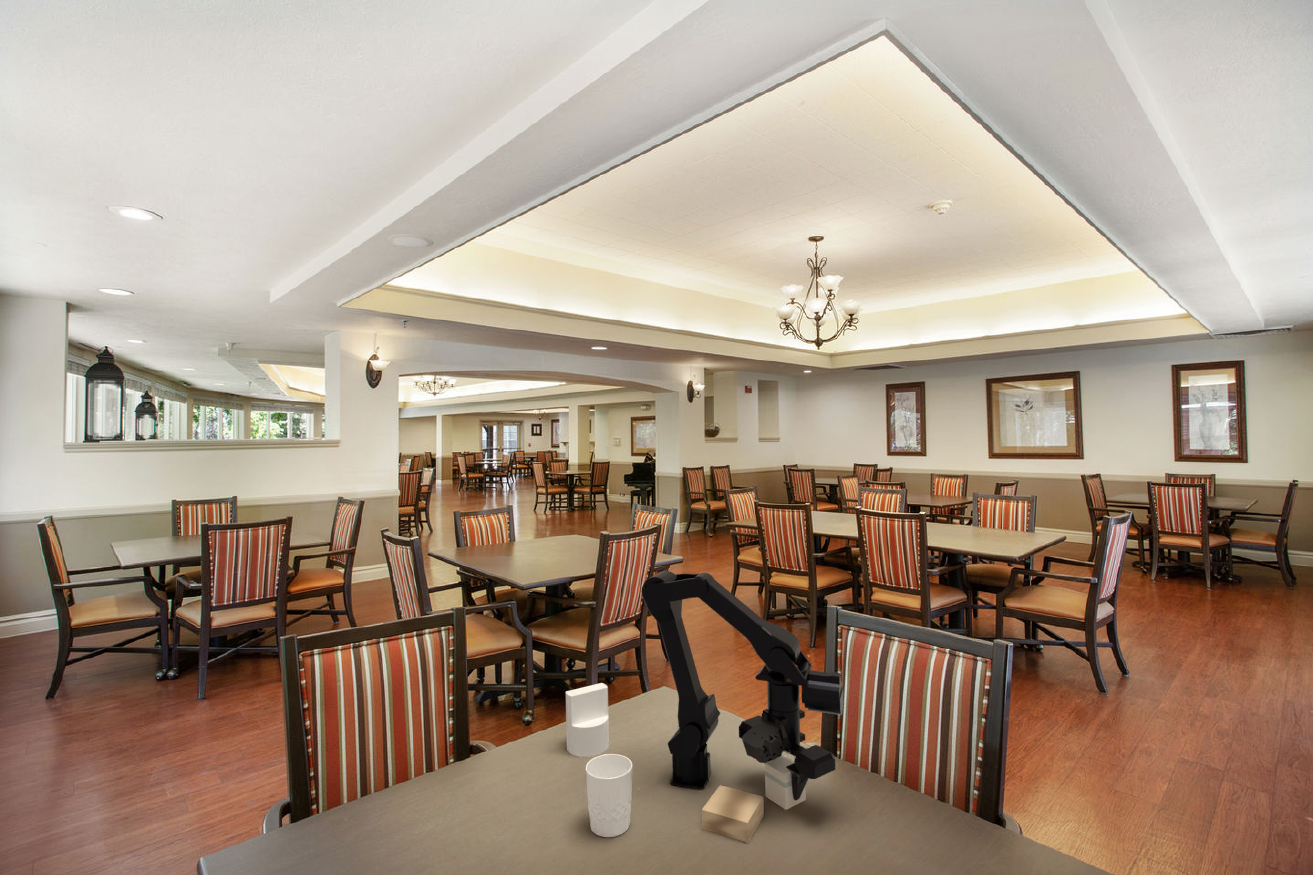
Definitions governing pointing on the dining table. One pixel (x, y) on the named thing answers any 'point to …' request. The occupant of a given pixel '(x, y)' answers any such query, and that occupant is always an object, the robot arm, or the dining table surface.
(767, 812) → the dining table surface
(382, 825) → the dining table surface
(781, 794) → the white banded box
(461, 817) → the dining table surface
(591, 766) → the white cup
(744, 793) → the oak block
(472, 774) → the dining table surface
